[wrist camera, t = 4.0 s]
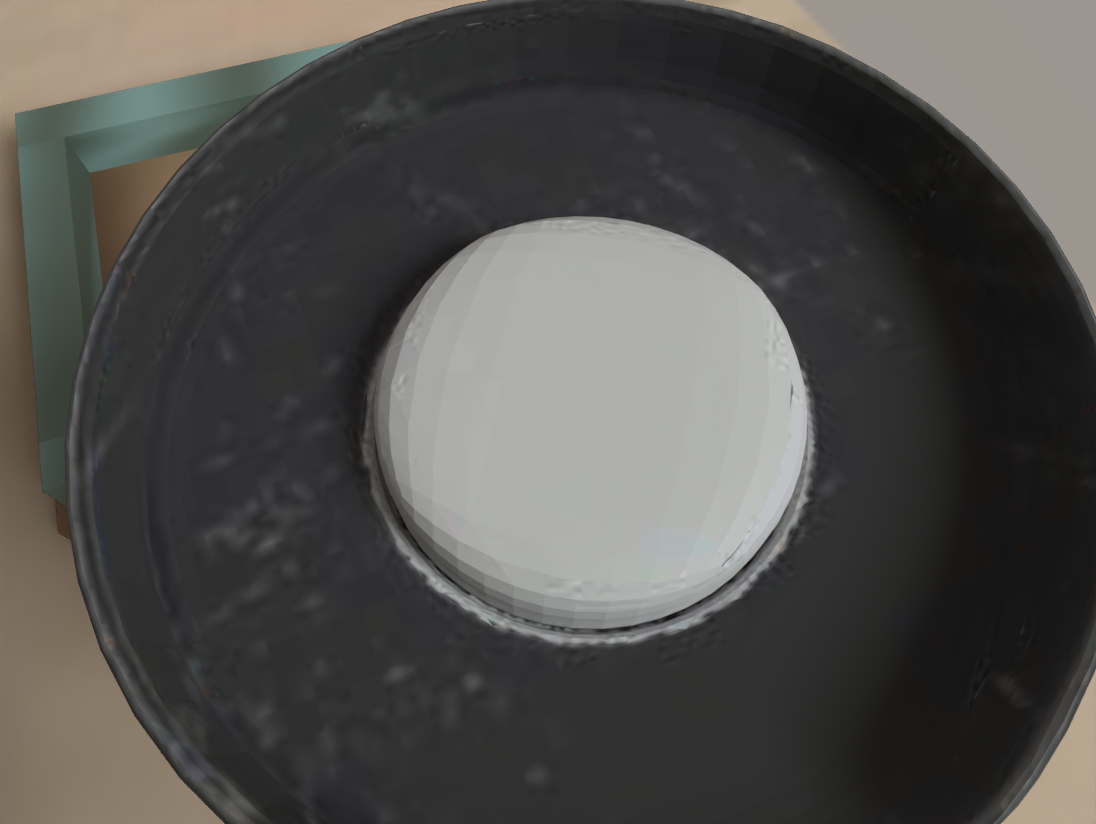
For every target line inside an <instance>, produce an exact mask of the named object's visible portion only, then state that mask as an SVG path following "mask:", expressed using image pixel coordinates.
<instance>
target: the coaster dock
mask: <svg viewBox="0 0 1096 824" xmlns="http://www.w3.org/2000/svg"><path fill="white" fill-rule="evenodd" d="M353 41H354V40H353ZM350 42H352V41H348V42H343V43H339V44H334V45H329V46H325V47H320V48H316V49H311V50H306V51H302V52H297V53H293V54H288V55H283V56H279V57H274V58H270V59H265V60H260V61H256V62H251V63H246V64H242V65H237V66H233V67H228V68H223V69H219V70H214V71H210V72H205V73H200V74H196V75H191V76H187V77H182V78H177V79H173V80H168V81H163V82H159V83H154V84H150V85H145V86H140V87H136V88H131V89H127V90H122V91H117V92H113V93H108V94H103V95H99V96H94V97H90V98H85V99H80V100H76V101H71V102H67V103H62V104H57V105H53V106H48V107H44V108H39V109H34V110H30V111H25V112H20V113H16V114H15V121H16V135H17V149H18V163H19V176H20V190H21V204H22V218H23V232H24V245H25V259H26V273H27V287H28V301H29V315H30V328H31V342H32V356H33V370H34V384H35V397H36V411H37V425H38V439H39V453H40V467H41V480H42V492H44V493H45V494H47V495H49V496H50V497H52V498H53V499H55V500H56V513H57V526H58V533H59V534H61V535H63V536H65V537H66V538H68V539H70V540H71V537H70V531H69V525H68V520H67V513H66V484H65V437H66V429H67V421H68V413H69V405H70V397H71V389H72V381H73V377H74V373H75V370H76V366H77V363H78V359H79V355H80V352H81V348H82V344H83V341H84V337H85V333H86V330H87V326H88V322H89V320H90V317H91V315H92V313H93V310H94V308H95V306H96V303H97V301H98V299H99V296H100V294H101V291H102V289H103V287H104V284H105V282H106V280H107V277H108V275H109V273H110V270H111V268H112V266H113V264H114V262H115V261H116V259H117V257H118V256H119V254H120V252H121V250H122V249H123V247H124V245H125V244H126V242H127V240H128V239H129V237H130V235H131V233H132V232H133V230H134V228H135V227H136V225H137V223H138V222H139V220H140V218H141V216H142V215H143V214H144V212H145V211H146V210H147V208H148V207H149V206H150V205H151V203H152V202H153V201H154V199H155V198H156V197H157V195H158V194H159V193H160V192H161V190H162V189H163V188H164V186H165V185H166V184H167V182H168V181H169V180H170V179H171V177H172V176H173V175H174V173H175V172H176V171H177V170H178V168H179V167H180V166H181V165H182V164H183V163H184V162H185V161H186V160H187V159H188V158H189V157H190V156H191V155H192V154H193V153H194V152H195V151H196V150H197V149H198V148H199V147H200V146H201V145H202V144H203V143H204V142H205V141H206V140H207V139H208V138H209V137H210V136H211V135H212V134H213V133H214V132H215V131H216V130H217V129H218V128H219V127H220V126H222V125H223V124H224V123H225V122H227V121H228V120H229V119H230V118H232V117H233V116H234V115H235V114H237V113H238V112H239V111H240V110H241V109H243V108H244V107H245V106H246V105H248V104H249V103H250V102H251V101H253V100H254V99H255V98H256V97H258V96H259V95H260V94H261V93H263V92H265V91H266V90H268V89H269V88H271V87H272V86H274V85H275V84H277V83H278V82H280V81H282V80H283V79H285V78H286V77H288V76H289V75H291V74H292V73H294V72H296V71H297V70H299V69H300V68H302V67H303V66H305V65H306V64H308V63H310V62H312V61H314V60H316V59H318V58H320V57H322V56H324V55H326V54H328V53H330V52H332V51H334V50H336V49H338V48H340V47H342V46H344V45H346V44H348V43H350Z"/></svg>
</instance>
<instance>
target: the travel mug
mask: <svg viewBox="0 0 1096 824" xmlns="http://www.w3.org/2000/svg"><path fill="white" fill-rule="evenodd" d="M65 484H66V513H67V520H68V525H69V531H70V537H71V543H72V549H73V555H74V561H75V567H76V573H77V578H78V583H79V586H80V589H81V592H82V595H83V598H84V601H85V604H86V607H87V610H88V613H89V616H90V619H91V622H92V625H93V628H94V632H95V635H96V638H97V641H98V644H99V647H100V650H101V652H102V654H103V655H104V657H105V659H106V661H107V663H108V665H109V667H110V669H111V671H112V673H113V675H114V677H115V679H116V681H117V683H118V685H119V687H120V688H121V690H122V692H123V694H124V696H125V698H126V700H127V702H128V704H129V706H130V708H131V710H132V712H133V714H134V716H135V717H136V718H137V720H138V721H139V723H140V724H141V725H142V727H143V728H144V729H145V731H146V732H147V734H148V735H149V736H150V738H151V739H152V740H153V742H154V743H155V745H156V746H157V747H158V749H159V750H160V751H161V753H162V754H163V756H164V757H165V758H166V760H167V761H168V762H169V764H170V765H171V767H172V768H173V769H174V771H175V772H176V773H177V775H178V776H179V778H180V779H181V780H182V781H183V782H184V783H185V784H186V785H187V786H188V787H189V788H190V789H191V790H192V791H193V792H194V793H195V794H196V795H197V796H198V797H199V798H200V799H201V800H202V801H203V802H204V803H205V804H206V805H207V806H208V807H209V808H210V809H211V810H212V811H213V812H214V813H215V814H216V815H217V816H218V817H219V818H220V819H221V820H222V821H223V822H224V823H225V824H1001V823H1002V822H1003V821H1004V820H1005V819H1006V818H1007V817H1008V816H1009V815H1010V814H1011V813H1012V812H1013V810H1014V809H1015V808H1016V807H1017V806H1018V805H1019V804H1020V802H1021V801H1022V800H1023V798H1024V797H1025V796H1026V794H1027V793H1028V792H1029V790H1030V789H1031V788H1032V786H1033V785H1034V784H1035V782H1036V781H1037V780H1038V778H1039V777H1040V775H1041V773H1042V772H1043V770H1044V768H1045V767H1046V765H1047V763H1048V762H1049V760H1050V758H1051V757H1052V755H1053V754H1054V752H1055V750H1056V749H1057V747H1058V745H1059V744H1060V742H1061V740H1062V739H1063V737H1064V735H1065V734H1066V732H1067V730H1068V728H1069V726H1070V724H1071V722H1072V719H1073V717H1074V715H1075V713H1076V711H1077V709H1078V707H1079V704H1080V702H1081V700H1082V698H1083V696H1084V694H1085V692H1086V689H1087V687H1088V685H1089V683H1090V681H1091V679H1092V677H1093V674H1094V672H1095V670H1096V316H1095V314H1094V312H1093V309H1092V307H1091V305H1090V302H1089V300H1088V298H1087V295H1086V293H1085V290H1084V288H1083V286H1082V284H1081V282H1080V280H1079V279H1078V277H1077V275H1076V273H1075V272H1074V270H1073V269H1072V267H1071V265H1070V263H1069V261H1068V260H1067V258H1066V257H1065V255H1064V253H1063V251H1062V250H1061V248H1060V246H1059V244H1058V243H1057V241H1056V239H1055V237H1054V236H1053V234H1052V232H1051V231H1050V230H1049V229H1048V227H1047V226H1046V225H1045V223H1044V222H1043V221H1042V219H1041V218H1040V217H1039V215H1038V214H1037V213H1036V211H1035V210H1034V209H1033V207H1032V206H1031V205H1030V203H1029V202H1028V201H1027V199H1026V198H1025V197H1024V195H1023V194H1022V193H1021V191H1020V190H1019V189H1018V187H1017V186H1016V185H1015V184H1014V183H1013V182H1012V181H1011V180H1010V179H1009V178H1008V177H1007V175H1005V173H1004V172H1003V171H1002V170H1001V169H1000V168H999V167H998V166H997V165H996V164H995V163H994V162H993V161H992V160H991V159H990V158H989V157H988V156H987V155H986V154H985V152H984V151H983V150H982V149H981V148H980V147H979V146H978V145H977V144H976V143H975V142H974V141H973V140H971V139H970V138H969V137H968V136H966V135H965V134H964V133H963V132H962V131H961V130H959V129H958V128H957V127H956V126H955V125H954V124H952V123H951V122H950V121H949V120H947V119H946V118H945V117H944V116H943V115H942V114H940V113H939V112H938V111H937V110H936V109H934V108H933V107H932V106H931V105H929V104H928V103H926V102H925V101H923V100H922V99H920V98H919V97H917V96H916V95H914V94H913V93H911V92H910V91H908V90H907V89H905V88H904V87H903V86H901V85H899V84H898V83H897V82H895V81H894V80H892V79H891V78H889V77H888V76H886V75H885V74H883V73H881V72H879V71H877V70H876V69H874V68H871V67H870V66H868V65H866V64H864V63H863V62H861V61H859V60H857V59H855V58H853V57H851V56H849V55H848V54H846V53H844V52H842V51H840V50H838V49H836V48H835V47H832V46H830V45H827V44H825V43H823V42H820V41H818V40H815V39H813V38H811V37H808V36H806V35H803V34H801V33H799V32H796V31H794V30H791V29H789V28H787V27H784V26H781V25H778V24H775V23H771V22H768V21H765V20H762V19H758V18H755V17H752V16H749V15H745V14H742V13H739V12H736V11H732V10H728V9H723V8H719V7H714V6H709V5H704V4H699V3H694V2H689V1H685V0H488V1H482V2H476V3H470V4H465V5H459V6H456V7H452V8H448V9H445V10H441V11H437V12H434V13H430V14H426V15H423V16H419V17H415V18H412V19H408V20H405V21H403V22H400V23H397V24H395V25H392V26H390V27H387V28H384V29H382V30H379V31H376V32H374V33H371V34H369V35H366V36H363V37H361V38H358V39H356V40H354V41H352V42H350V43H348V44H346V45H344V46H342V47H340V48H338V49H336V50H334V51H332V52H330V53H328V54H326V55H324V56H322V57H320V58H318V59H316V60H314V61H312V62H310V63H308V64H306V65H305V66H303V67H302V68H300V69H299V70H297V71H296V72H294V73H292V74H291V75H289V76H288V77H286V78H285V79H283V80H282V81H280V82H278V83H277V84H275V85H274V86H272V87H271V88H269V89H268V90H266V91H265V92H263V93H261V94H260V95H259V96H258V97H256V98H255V99H254V100H253V101H251V102H250V103H249V104H248V105H246V106H245V107H244V108H243V109H241V110H240V111H239V112H238V113H237V114H235V115H234V116H233V117H232V118H230V119H229V120H228V121H227V122H225V123H224V124H223V125H222V126H220V127H219V128H218V129H217V130H216V131H215V132H214V133H213V134H212V135H211V136H210V137H209V138H208V139H207V140H206V141H205V142H204V143H203V144H202V145H201V146H200V147H199V148H198V149H197V150H196V151H195V152H194V153H193V154H192V155H191V156H190V157H189V158H188V159H187V160H186V161H185V162H184V163H183V164H182V165H181V166H180V167H179V168H178V170H177V171H176V172H175V173H174V175H173V176H172V177H171V179H170V180H169V181H168V182H167V184H166V185H165V186H164V188H163V189H162V190H161V192H160V193H159V194H158V195H157V197H156V198H155V199H154V201H153V202H152V203H151V205H150V206H149V207H148V208H147V210H146V211H145V212H144V214H143V215H142V216H141V218H140V220H139V222H138V223H137V225H136V227H135V228H134V230H133V232H132V233H131V235H130V237H129V239H128V240H127V242H126V244H125V245H124V247H123V249H122V250H121V252H120V254H119V256H118V257H117V259H116V261H115V262H114V264H113V266H112V268H111V270H110V273H109V275H108V277H107V280H106V282H105V284H104V287H103V289H102V291H101V294H100V296H99V299H98V301H97V303H96V306H95V308H94V310H93V313H92V315H91V317H90V320H89V322H88V326H87V330H86V333H85V337H84V341H83V344H82V348H81V352H80V355H79V359H78V363H77V366H76V370H75V373H74V377H73V381H72V389H71V397H70V405H69V413H68V421H67V429H66V437H65Z"/></svg>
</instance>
